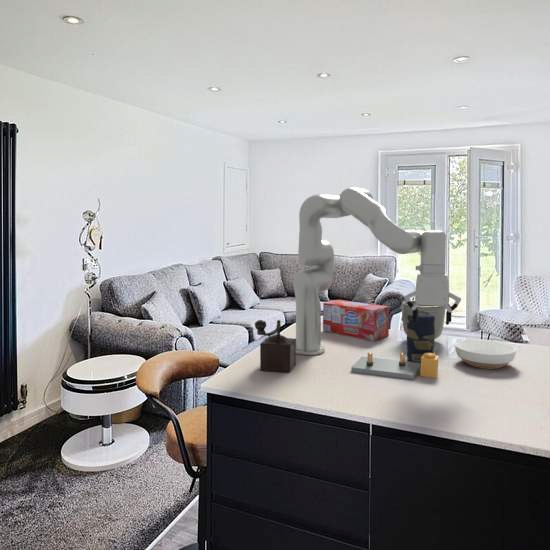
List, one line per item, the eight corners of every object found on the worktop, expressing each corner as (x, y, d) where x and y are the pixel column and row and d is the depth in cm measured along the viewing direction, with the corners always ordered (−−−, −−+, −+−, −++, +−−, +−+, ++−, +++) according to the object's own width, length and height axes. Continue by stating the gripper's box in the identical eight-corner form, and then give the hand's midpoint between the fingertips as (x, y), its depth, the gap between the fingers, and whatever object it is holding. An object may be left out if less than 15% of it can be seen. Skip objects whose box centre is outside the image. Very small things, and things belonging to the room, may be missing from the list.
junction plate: (351, 371, 160) (351, 367, 159) (361, 360, 172) (361, 356, 172) (413, 379, 151) (413, 374, 151) (419, 367, 164) (419, 362, 164)
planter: (409, 334, 211) (410, 298, 209) (449, 339, 201) (451, 302, 199) (394, 342, 197) (395, 304, 195) (436, 348, 187) (438, 308, 185)
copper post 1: (365, 369, 162) (366, 353, 161) (367, 367, 164) (367, 352, 163) (372, 370, 161) (372, 354, 160) (373, 368, 163) (374, 352, 162)
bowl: (514, 359, 172) (515, 343, 172) (516, 375, 155) (517, 357, 154) (456, 353, 180) (457, 337, 180) (452, 368, 163) (452, 350, 162)
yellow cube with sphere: (420, 375, 155) (421, 355, 154) (422, 371, 159) (423, 351, 158) (436, 377, 153) (436, 357, 152) (437, 373, 157) (438, 353, 156)
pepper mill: (266, 362, 171) (265, 312, 169) (296, 364, 168) (296, 313, 166) (253, 375, 156) (252, 321, 154) (286, 378, 153) (285, 322, 151)
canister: (435, 365, 166) (437, 314, 164) (407, 363, 168) (408, 313, 166) (432, 357, 175) (433, 309, 173) (405, 356, 177) (406, 308, 175)
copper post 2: (398, 370, 161) (398, 354, 160) (399, 368, 163) (399, 352, 162) (404, 370, 160) (405, 354, 159) (405, 369, 162) (406, 353, 161)
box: (390, 336, 209) (390, 305, 207) (374, 341, 199) (375, 309, 198) (338, 327, 227) (338, 298, 225) (321, 332, 217) (321, 302, 216)
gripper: (402, 270, 152) (402, 323, 154) (461, 271, 145) (459, 327, 147) (406, 268, 159) (406, 318, 161) (462, 269, 152) (461, 322, 154)
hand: (431, 322), depth 154 cm, fingers open, 9 cm apart
